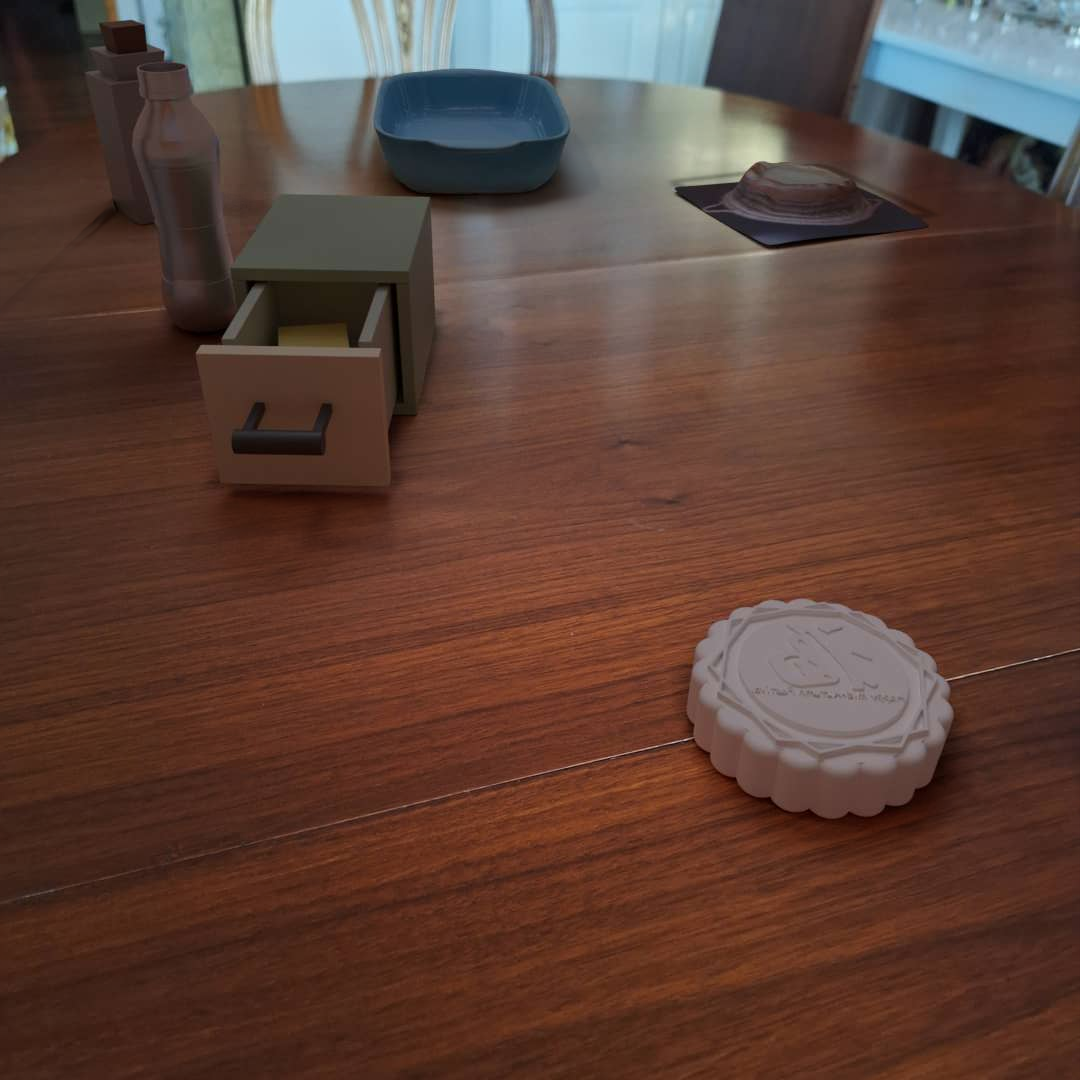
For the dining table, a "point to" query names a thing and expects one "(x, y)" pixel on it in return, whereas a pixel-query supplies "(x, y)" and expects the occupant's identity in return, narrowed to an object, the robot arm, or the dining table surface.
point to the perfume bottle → (121, 110)
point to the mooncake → (818, 707)
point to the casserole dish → (470, 130)
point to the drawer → (304, 387)
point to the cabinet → (353, 262)
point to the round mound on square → (798, 205)
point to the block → (314, 336)
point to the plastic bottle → (184, 199)
